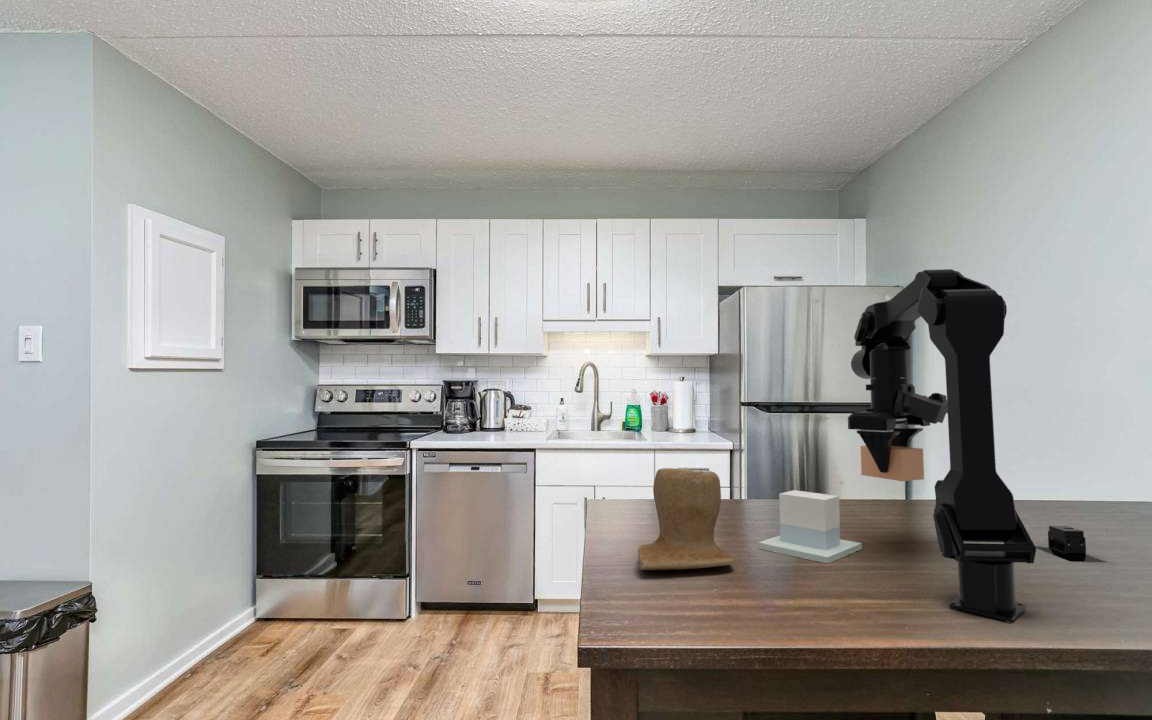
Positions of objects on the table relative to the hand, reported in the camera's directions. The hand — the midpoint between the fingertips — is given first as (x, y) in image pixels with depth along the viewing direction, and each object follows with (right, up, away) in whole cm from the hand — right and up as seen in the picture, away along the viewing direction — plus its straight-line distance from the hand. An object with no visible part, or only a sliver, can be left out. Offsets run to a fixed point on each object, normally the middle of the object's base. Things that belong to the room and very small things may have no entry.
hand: (891, 470), depth 102 cm
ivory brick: (-14, -9, -1) cm, 17 cm away
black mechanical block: (+26, -13, -5) cm, 30 cm away
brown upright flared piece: (-37, -13, -9) cm, 41 cm away
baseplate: (-14, -13, -1) cm, 19 cm away
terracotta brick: (0, -1, 0) cm, 1 cm away
